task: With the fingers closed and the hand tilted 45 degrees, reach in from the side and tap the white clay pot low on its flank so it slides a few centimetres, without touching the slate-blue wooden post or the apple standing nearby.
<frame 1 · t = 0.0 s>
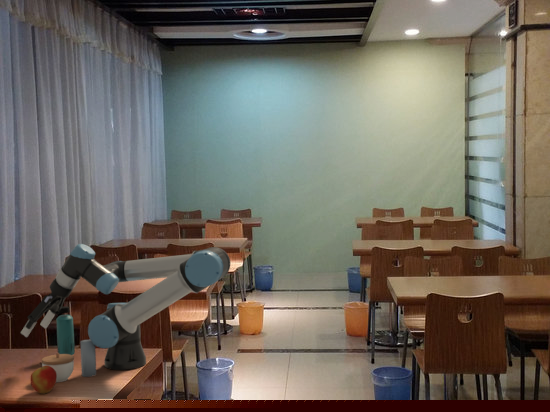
hand: (33, 330, 261), 15 cm above the table, tool tilted 35°, fingers open, 13 cm apart
beverage bottle: (66, 358, 281), on the table
apple: (44, 393, 238), on the table
lidded jar: (58, 380, 252), on the table
post: (89, 374, 257), on the table
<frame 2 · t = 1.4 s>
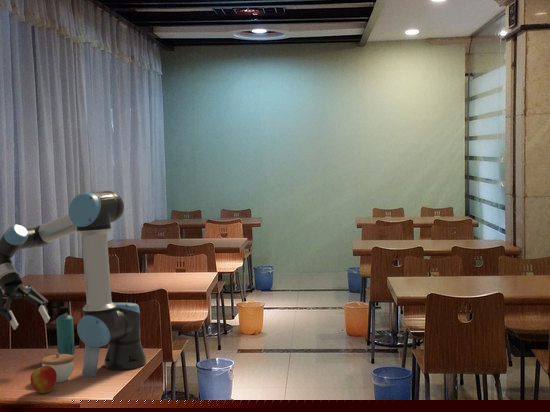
hand: (32, 324, 261), 18 cm above the table, tool tilted 45°, fingers open, 12 cm apart
post: (89, 375, 257), on the table, tilted 9°, touching arm
everything else where it was.
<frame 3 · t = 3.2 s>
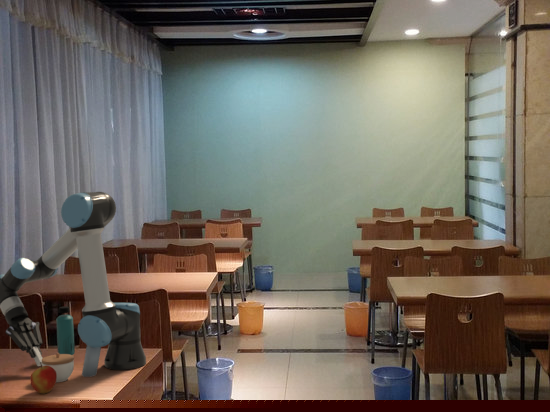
hand: (41, 363, 258), 4 cm above the table, tool tilted 45°, fingers closed
nothing on the table moved.
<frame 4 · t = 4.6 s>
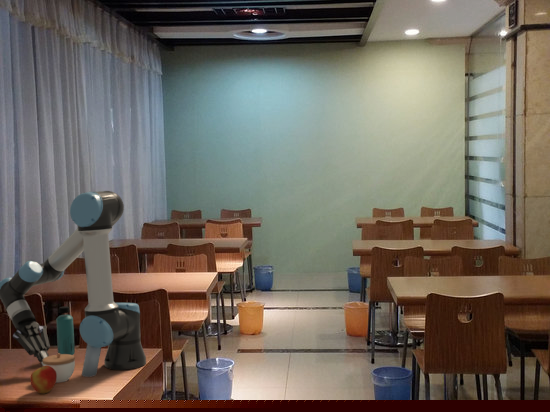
hand: (48, 367, 255), 3 cm above the table, tool tilted 45°, fingers closed
lidded jar: (59, 380, 252), on the table, touching gripper
everything else where it was.
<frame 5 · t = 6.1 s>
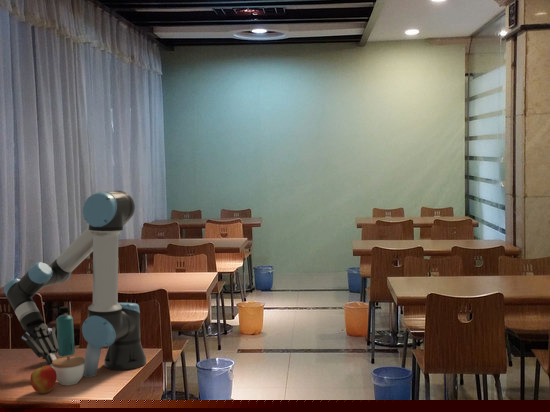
hand: (58, 370, 252), 3 cm above the table, tool tilted 45°, fingers closed
lidded jar: (69, 383, 248), on the table, touching gripper
everything else where it was.
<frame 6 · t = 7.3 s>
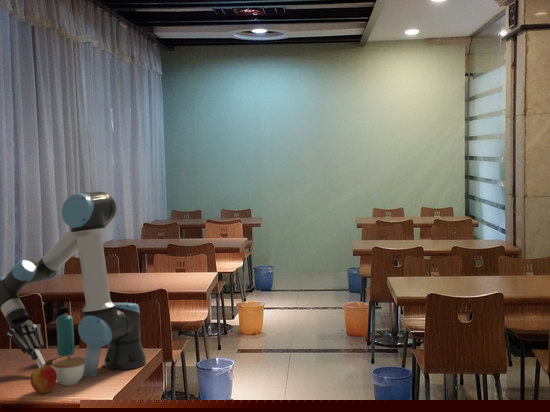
hand: (42, 365, 258), 3 cm above the table, tool tilted 45°, fingers closed
lidded jar: (69, 383, 248), on the table
everything else where it was.
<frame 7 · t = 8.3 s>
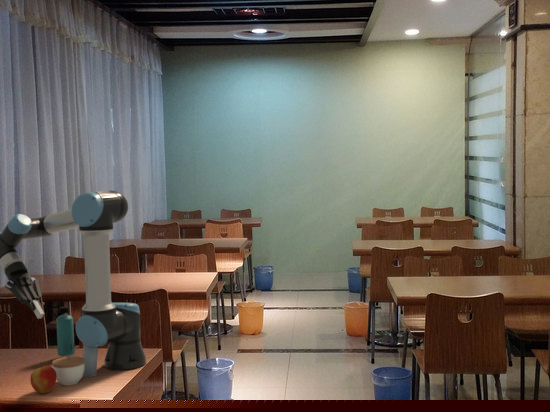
hand: (41, 316, 261), 20 cm above the table, tool tilted 45°, fingers closed
post: (89, 376, 257), on the table, tilted 5°, touching arm
everything else where it was.
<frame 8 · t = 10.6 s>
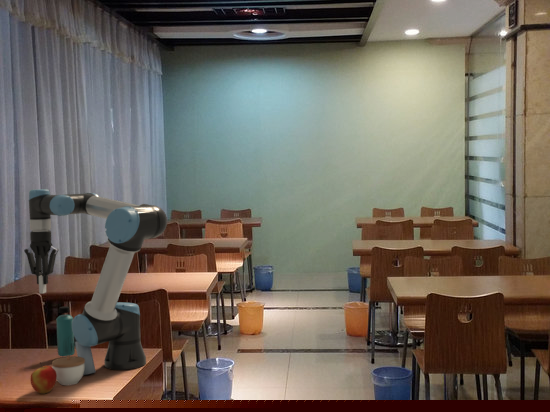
hand: (42, 292, 274), 27 cm above the table, tool pointing down, fingers closed
post: (88, 374, 257), on the table, tilted 23°, touching arm
everything else where it was.
at the end: lidded jar moved 6.1 cm from its start; lidded jar tilted 0°; post moved 0.3 cm from its start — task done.
